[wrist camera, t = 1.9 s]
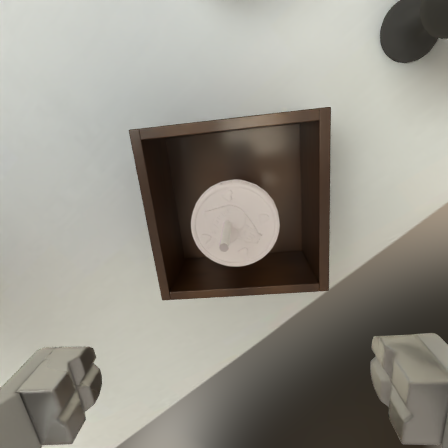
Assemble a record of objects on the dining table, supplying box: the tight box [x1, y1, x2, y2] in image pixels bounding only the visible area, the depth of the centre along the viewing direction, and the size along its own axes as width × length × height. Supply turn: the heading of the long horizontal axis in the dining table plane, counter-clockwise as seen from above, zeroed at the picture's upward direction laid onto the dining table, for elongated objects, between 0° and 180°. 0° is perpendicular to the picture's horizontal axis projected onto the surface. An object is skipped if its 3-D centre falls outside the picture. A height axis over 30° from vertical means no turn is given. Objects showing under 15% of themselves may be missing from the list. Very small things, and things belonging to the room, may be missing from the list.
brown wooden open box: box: [129, 107, 331, 300], centre depth 26 cm, size 15×15×7 cm
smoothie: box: [191, 179, 280, 267], centre depth 22 cm, size 6×6×14 cm
